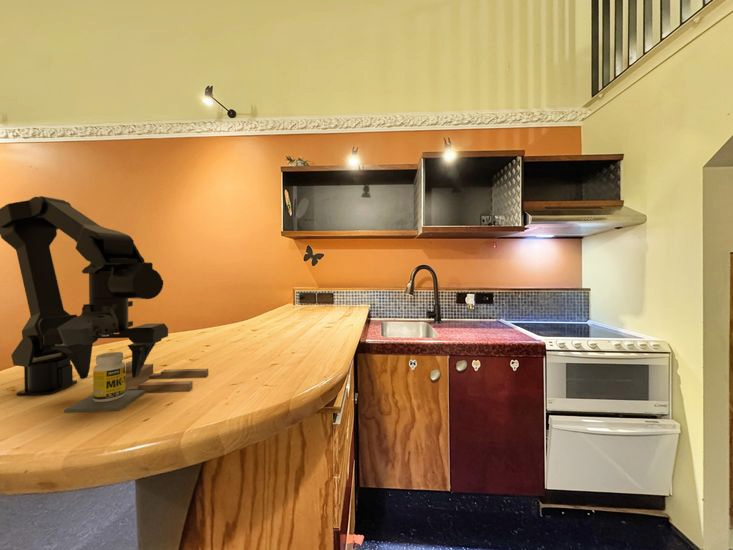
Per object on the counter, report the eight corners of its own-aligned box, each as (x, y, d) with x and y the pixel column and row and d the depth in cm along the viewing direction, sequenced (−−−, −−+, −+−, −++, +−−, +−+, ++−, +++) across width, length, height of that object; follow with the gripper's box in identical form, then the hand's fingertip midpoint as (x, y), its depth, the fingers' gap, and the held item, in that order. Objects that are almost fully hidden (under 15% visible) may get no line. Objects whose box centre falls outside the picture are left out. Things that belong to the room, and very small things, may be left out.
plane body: (109, 393, 61) (108, 369, 61) (139, 377, 70) (139, 356, 70) (189, 391, 62) (189, 367, 62) (208, 375, 72) (208, 354, 72)
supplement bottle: (106, 404, 55) (106, 359, 55) (86, 401, 56) (85, 357, 56) (132, 393, 60) (131, 351, 59) (112, 391, 60) (112, 350, 60)
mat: (64, 412, 53) (64, 409, 53) (103, 391, 62) (103, 388, 62) (118, 410, 54) (118, 407, 54) (149, 390, 63) (149, 387, 63)
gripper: (9, 302, 48) (11, 397, 49) (132, 301, 50) (133, 393, 51) (70, 296, 59) (71, 373, 60) (169, 295, 61) (169, 370, 62)
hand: (110, 377), depth 58 cm, fingers open, 9 cm apart
